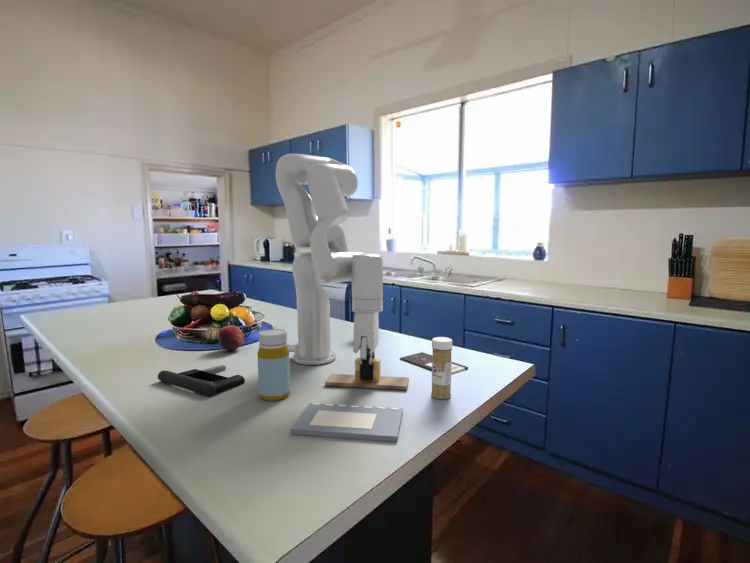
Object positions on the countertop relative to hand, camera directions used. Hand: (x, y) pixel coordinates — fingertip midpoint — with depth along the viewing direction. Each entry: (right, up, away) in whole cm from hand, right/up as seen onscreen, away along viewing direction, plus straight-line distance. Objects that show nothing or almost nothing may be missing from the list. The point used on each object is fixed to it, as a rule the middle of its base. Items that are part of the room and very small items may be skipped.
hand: (367, 376), depth 102 cm
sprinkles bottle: (+17, -3, -8) cm, 19 cm away
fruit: (-44, +1, +29) cm, 53 cm away
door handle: (-41, -2, +3) cm, 41 cm away
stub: (0, -2, 0) cm, 2 cm away
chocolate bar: (+18, 0, +15) cm, 24 cm away
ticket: (-3, -4, -21) cm, 22 cm away
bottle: (-21, -3, -7) cm, 23 cm away
